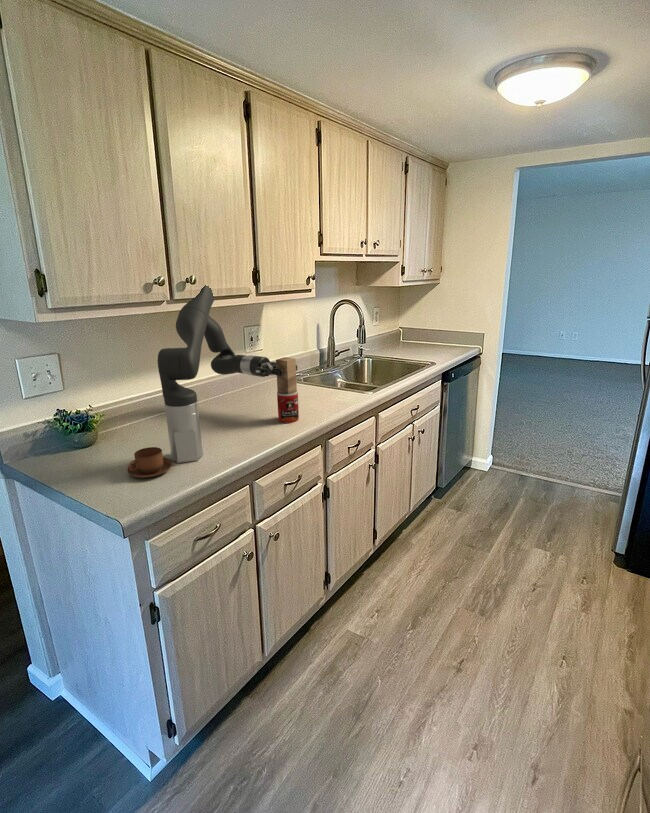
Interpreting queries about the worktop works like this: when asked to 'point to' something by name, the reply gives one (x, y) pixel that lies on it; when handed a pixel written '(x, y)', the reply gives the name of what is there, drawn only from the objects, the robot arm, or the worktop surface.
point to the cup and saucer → (149, 463)
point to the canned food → (288, 407)
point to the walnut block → (286, 375)
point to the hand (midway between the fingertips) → (289, 370)
